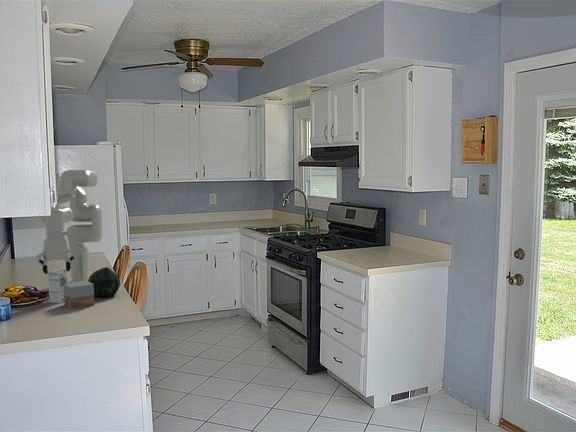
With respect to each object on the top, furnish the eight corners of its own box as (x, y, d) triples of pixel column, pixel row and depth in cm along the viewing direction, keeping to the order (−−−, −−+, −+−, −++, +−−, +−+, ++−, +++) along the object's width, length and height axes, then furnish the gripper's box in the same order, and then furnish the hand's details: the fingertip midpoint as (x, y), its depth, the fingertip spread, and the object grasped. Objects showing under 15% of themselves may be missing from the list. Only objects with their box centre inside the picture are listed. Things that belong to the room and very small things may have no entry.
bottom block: (64, 305, 239) (64, 294, 238) (87, 301, 245) (86, 291, 244) (71, 309, 231) (70, 298, 230) (94, 306, 237) (93, 295, 237)
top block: (63, 294, 238) (63, 283, 238) (86, 291, 244) (85, 280, 244) (71, 298, 230) (70, 287, 230) (94, 294, 237) (93, 283, 236)
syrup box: (60, 303, 241) (59, 271, 240) (49, 302, 243) (47, 271, 241) (68, 300, 247) (66, 269, 246) (57, 299, 248) (55, 269, 247)
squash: (87, 281, 261) (87, 262, 251) (119, 280, 266) (120, 261, 256) (87, 305, 252) (87, 287, 241) (120, 304, 257) (121, 285, 247)
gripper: (72, 233, 250) (73, 269, 251) (32, 236, 239) (34, 273, 240) (77, 234, 244) (78, 271, 245) (37, 237, 233) (39, 275, 235)
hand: (57, 272), depth 243 cm, fingers open, 9 cm apart
